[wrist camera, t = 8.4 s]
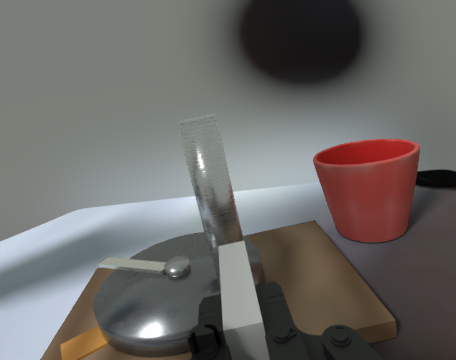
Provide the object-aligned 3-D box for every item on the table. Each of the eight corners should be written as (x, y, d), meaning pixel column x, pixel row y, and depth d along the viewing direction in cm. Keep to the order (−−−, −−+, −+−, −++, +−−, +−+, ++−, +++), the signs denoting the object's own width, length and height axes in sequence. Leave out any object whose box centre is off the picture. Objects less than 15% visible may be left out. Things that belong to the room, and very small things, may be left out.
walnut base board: (20, 420, 23) (10, 403, 23) (100, 278, 40) (96, 267, 40) (397, 337, 23) (395, 318, 22) (316, 230, 40) (314, 218, 40)
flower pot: (330, 209, 45) (321, 143, 43) (419, 208, 40) (416, 133, 37) (315, 248, 37) (303, 168, 34) (427, 253, 31) (424, 159, 29)
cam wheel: (45, 330, 30) (-30, 167, 25) (154, 242, 43) (117, 126, 38) (215, 380, 21) (146, 142, 16) (286, 250, 34) (258, 99, 29)
